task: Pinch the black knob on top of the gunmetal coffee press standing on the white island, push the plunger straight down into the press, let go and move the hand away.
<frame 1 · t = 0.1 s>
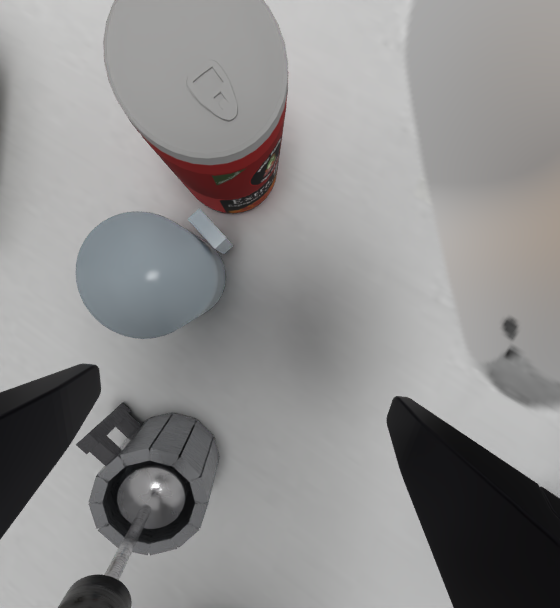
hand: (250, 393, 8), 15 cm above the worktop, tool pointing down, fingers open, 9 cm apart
plunger: (125, 550, 16), point 8 cm above the worktop, slide at 0.0 cm
press carafe: (172, 456, 24), on the worktop
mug: (184, 276, 23), on the worktop
canned food: (230, 167, 22), on the worktop
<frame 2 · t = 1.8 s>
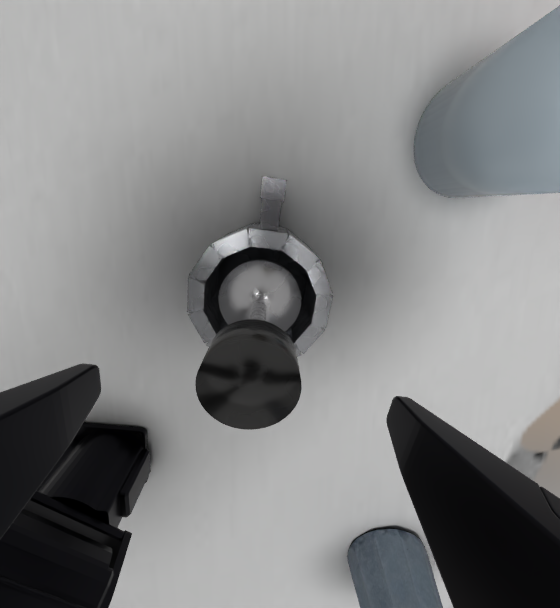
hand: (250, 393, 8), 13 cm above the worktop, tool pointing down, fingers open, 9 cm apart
plunger: (256, 329, 12), point 8 cm above the worktop, slide at 0.0 cm
press carafe: (262, 281, 20), on the worktop
moka pot: (387, 546, 31), on the worktop
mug: (468, 139, 17), on the worktop
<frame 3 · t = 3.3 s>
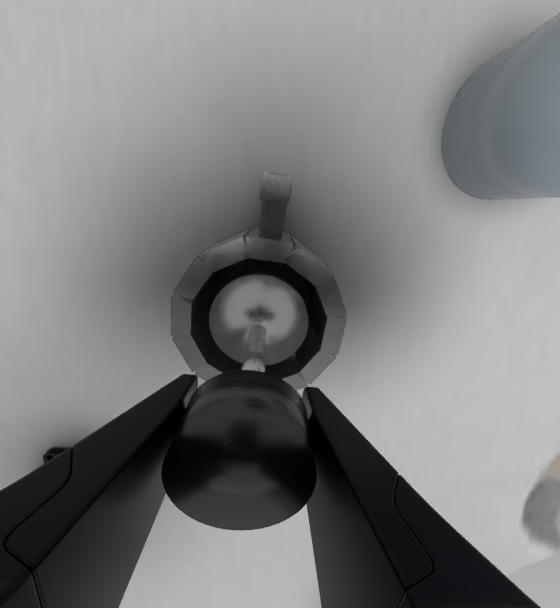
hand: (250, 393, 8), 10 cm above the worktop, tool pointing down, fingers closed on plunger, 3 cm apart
plunger: (253, 366, 10), point 8 cm above the worktop, slide at 0.0 cm, touching gripper
press carafe: (262, 294, 17), on the worktop
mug: (506, 130, 15), on the worktop
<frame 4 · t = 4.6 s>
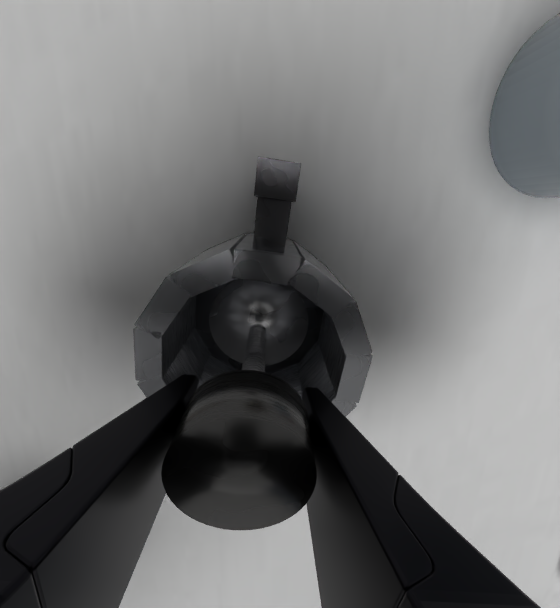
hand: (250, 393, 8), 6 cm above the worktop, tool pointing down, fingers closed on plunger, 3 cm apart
plunger: (253, 366, 10), point 5 cm above the worktop, slide at 3.5 cm, touching gripper
press carafe: (260, 314, 14), on the worktop
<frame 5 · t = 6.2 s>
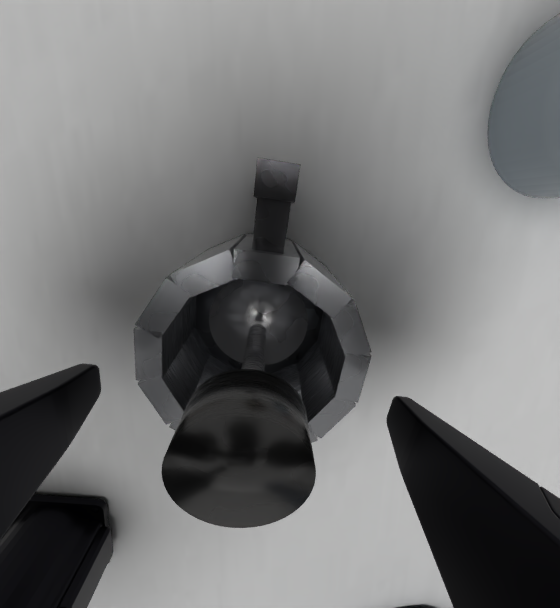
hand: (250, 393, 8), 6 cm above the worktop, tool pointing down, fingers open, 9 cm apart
plunger: (253, 365, 10), point 5 cm above the worktop, slide at 3.5 cm
press carafe: (259, 314, 14), on the worktop
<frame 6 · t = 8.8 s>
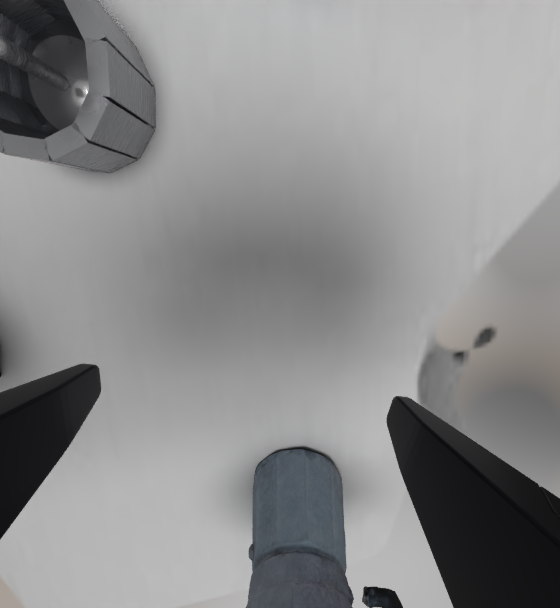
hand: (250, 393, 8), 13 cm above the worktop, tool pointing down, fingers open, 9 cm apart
plunger: (13, 54, 12), point 5 cm above the worktop, slide at 3.5 cm
press carafe: (86, 97, 16), on the worktop
moka pot: (299, 475, 28), on the worktop
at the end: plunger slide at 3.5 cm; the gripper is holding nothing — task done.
